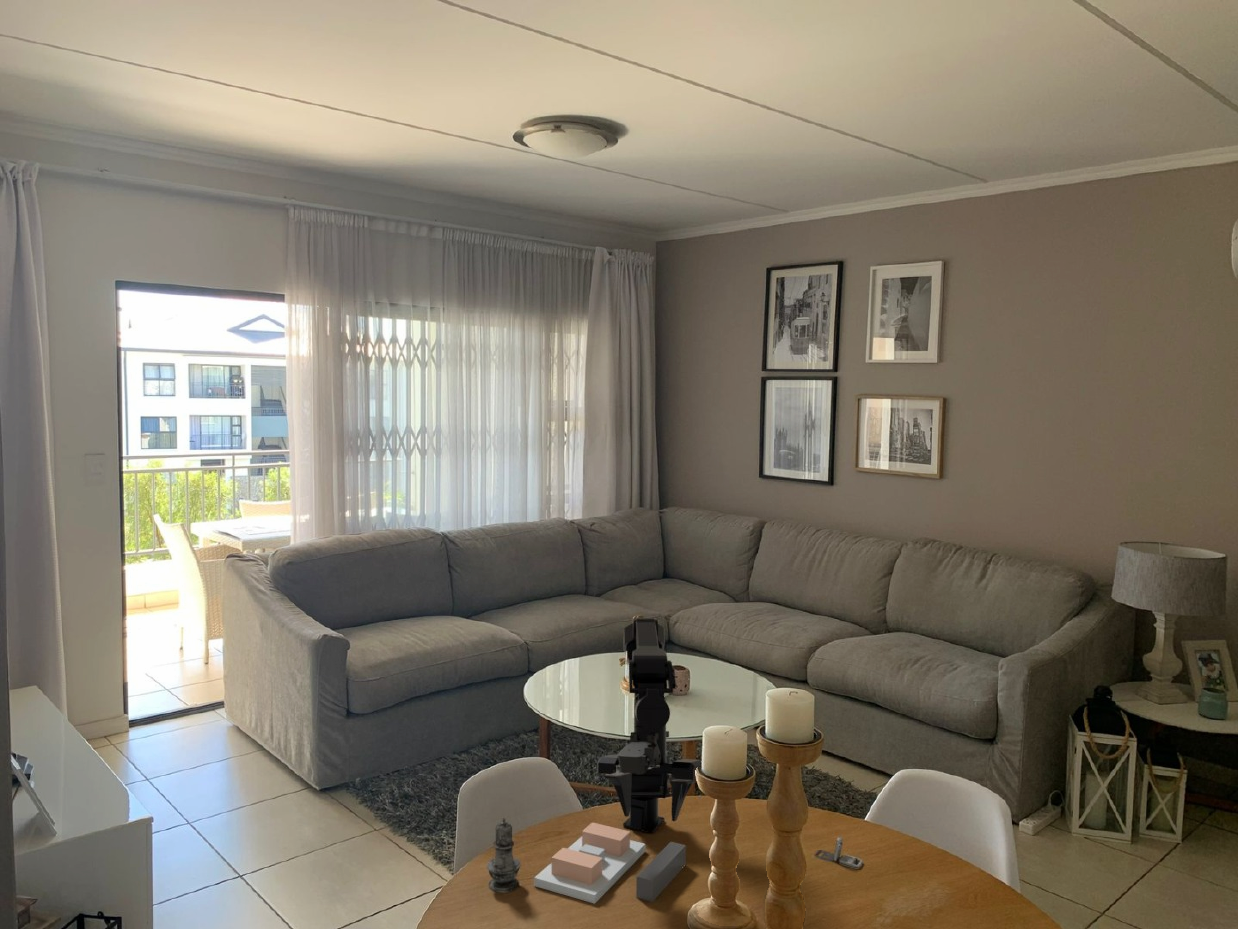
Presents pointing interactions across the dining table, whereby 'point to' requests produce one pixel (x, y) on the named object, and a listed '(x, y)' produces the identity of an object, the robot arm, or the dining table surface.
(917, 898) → the dining table surface
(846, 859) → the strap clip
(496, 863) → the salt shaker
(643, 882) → the frame bar
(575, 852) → the display stand
